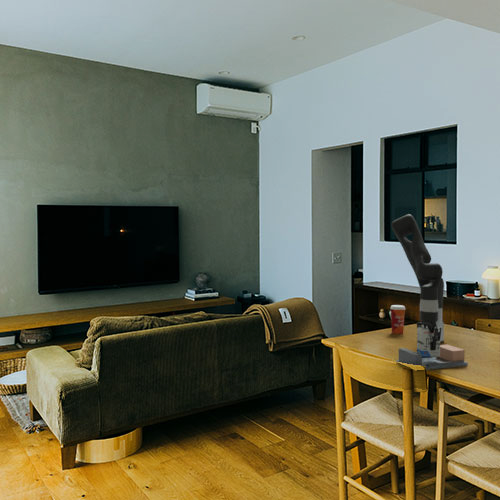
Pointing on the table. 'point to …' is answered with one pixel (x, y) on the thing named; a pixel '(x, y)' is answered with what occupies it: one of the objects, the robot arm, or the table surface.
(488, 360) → the table surface
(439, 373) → the table surface
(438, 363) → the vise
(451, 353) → the pink rectangular block
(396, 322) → the coffee cup
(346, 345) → the table surface
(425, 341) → the ink box
